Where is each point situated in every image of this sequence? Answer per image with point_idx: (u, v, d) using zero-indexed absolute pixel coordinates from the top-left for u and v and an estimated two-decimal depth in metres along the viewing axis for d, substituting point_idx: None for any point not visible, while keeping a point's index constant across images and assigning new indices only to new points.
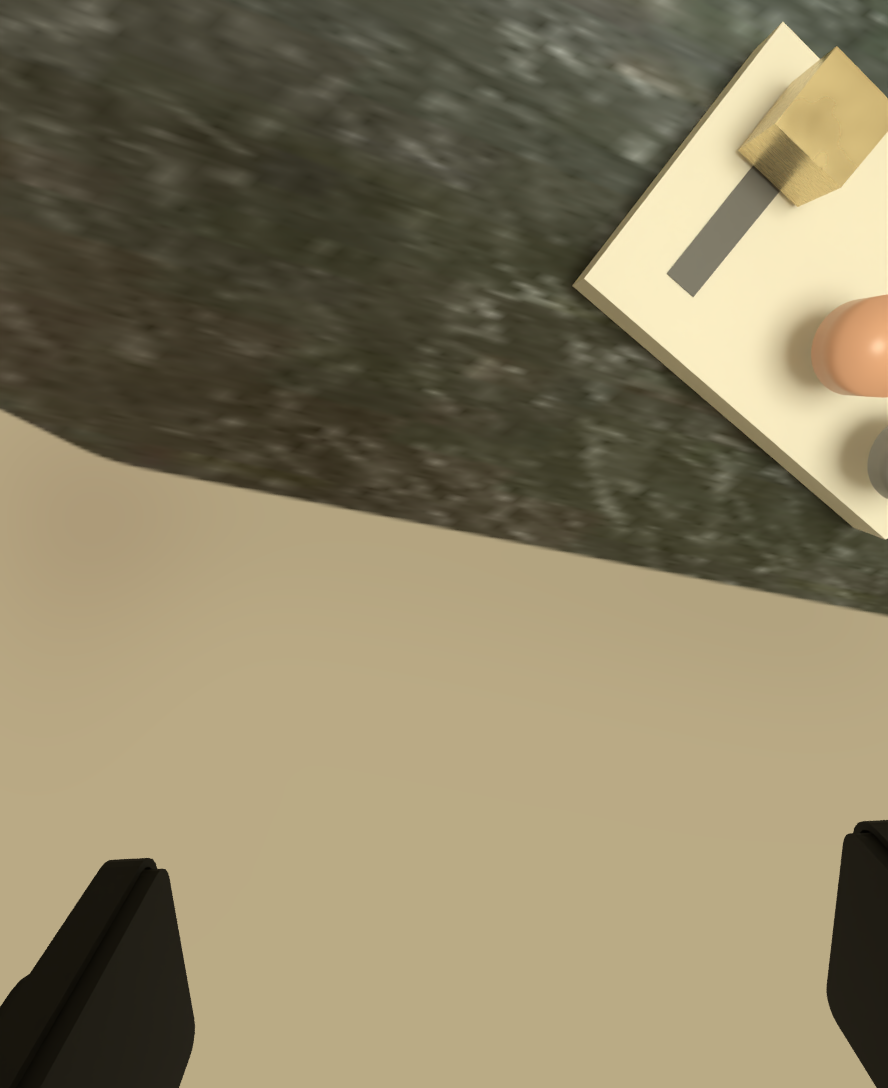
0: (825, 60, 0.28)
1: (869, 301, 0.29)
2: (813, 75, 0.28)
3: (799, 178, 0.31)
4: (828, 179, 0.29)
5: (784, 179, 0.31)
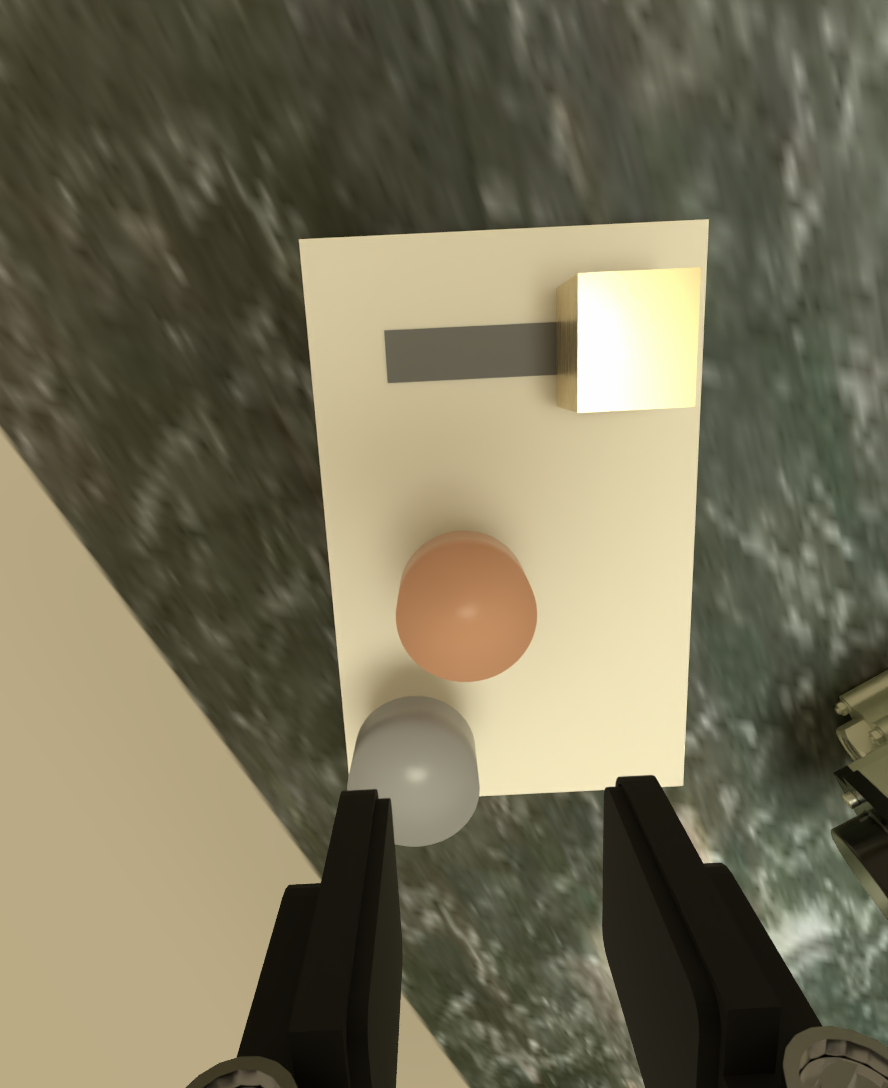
0: (679, 269, 0.20)
1: (489, 550, 0.21)
2: (655, 270, 0.20)
3: (566, 369, 0.22)
4: (576, 392, 0.21)
5: (561, 360, 0.23)
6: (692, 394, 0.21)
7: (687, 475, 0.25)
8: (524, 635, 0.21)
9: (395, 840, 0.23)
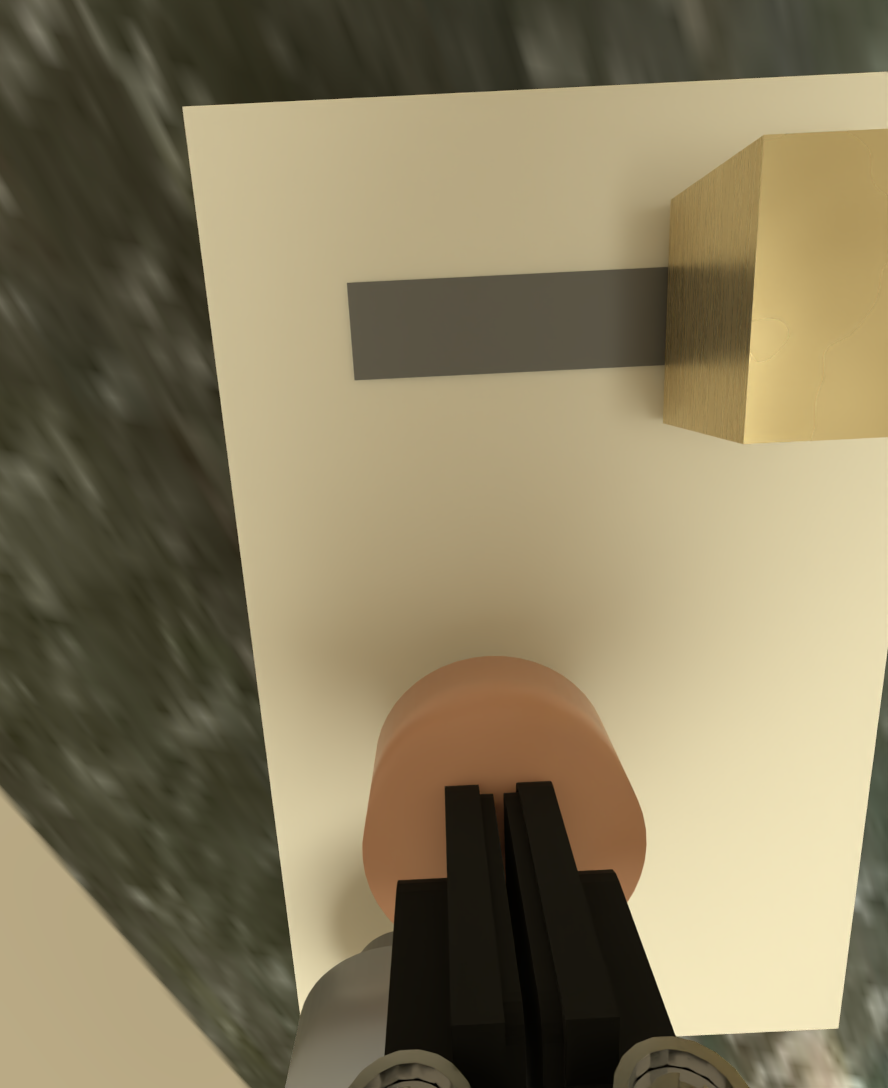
0: None
1: (552, 725, 0.10)
2: None
3: (703, 354, 0.11)
4: (741, 400, 0.10)
5: (683, 337, 0.12)
6: None
7: (884, 542, 0.14)
8: None
9: None
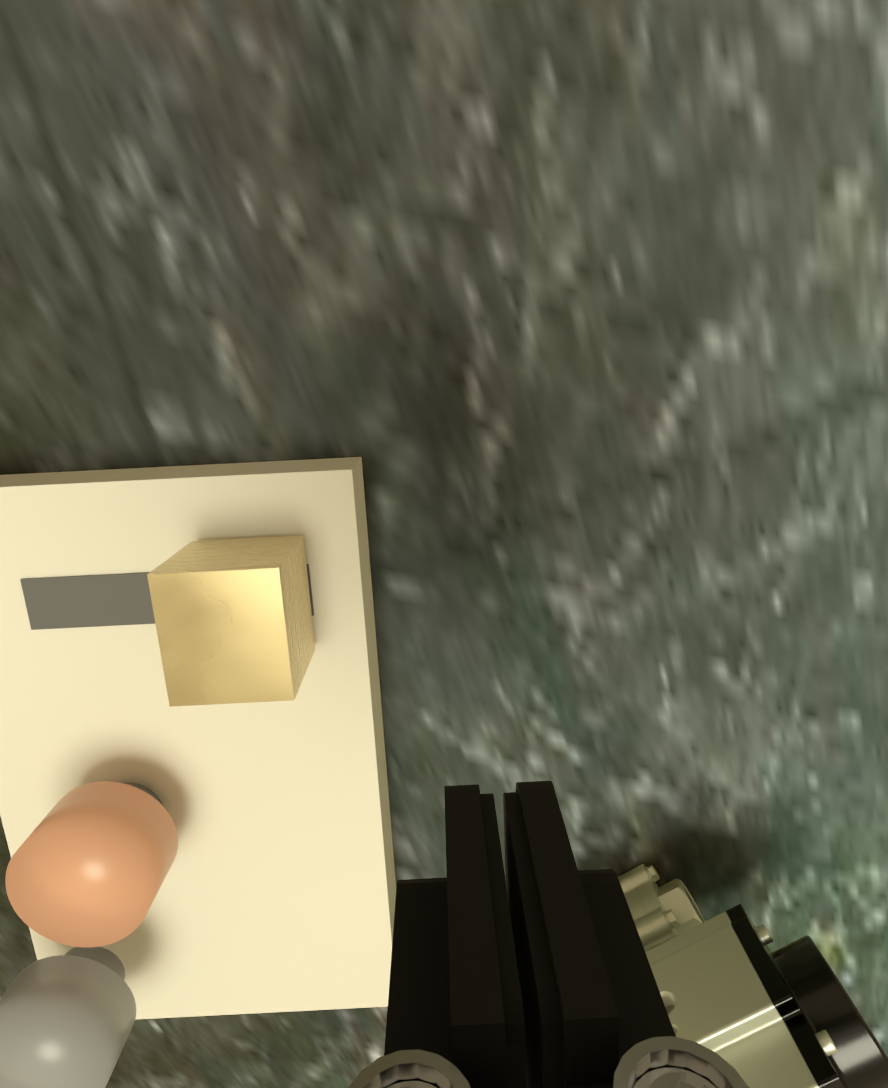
0: (257, 569, 0.19)
1: (94, 828, 0.21)
2: (231, 570, 0.19)
3: None
4: (168, 684, 0.20)
5: None
6: (288, 689, 0.19)
7: (362, 714, 0.24)
8: (139, 905, 0.21)
9: None
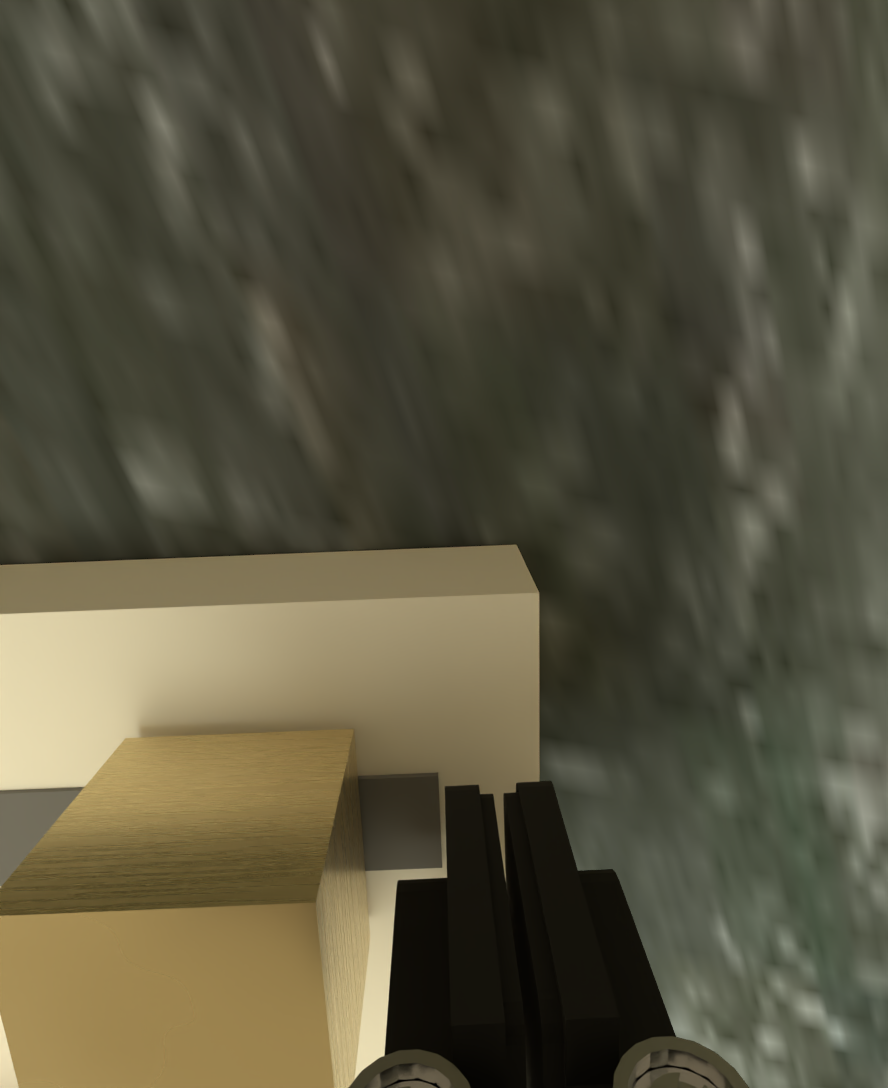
0: (259, 902, 0.07)
1: None
2: (193, 905, 0.07)
3: None
4: None
5: None
6: None
7: None
8: None
9: None
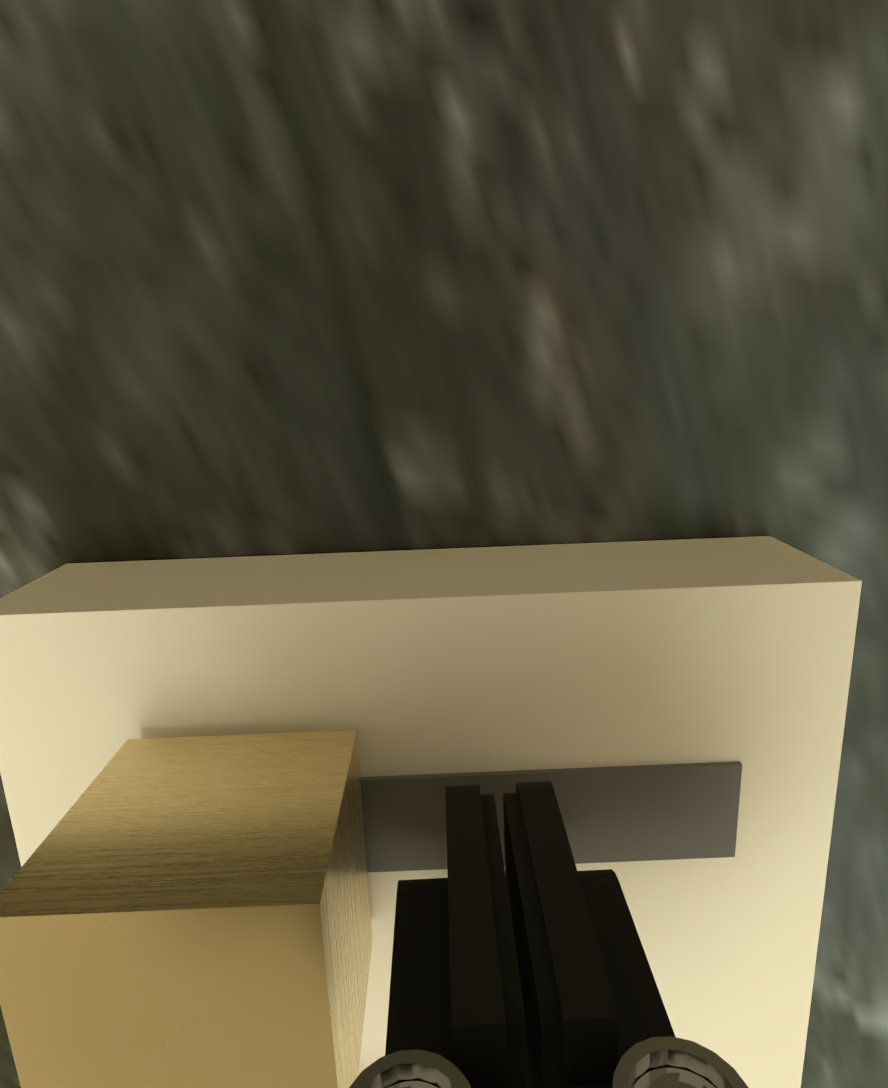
0: (263, 903, 0.07)
1: None
2: (197, 907, 0.07)
3: None
4: None
5: None
6: None
7: (788, 1025, 0.13)
8: None
9: None
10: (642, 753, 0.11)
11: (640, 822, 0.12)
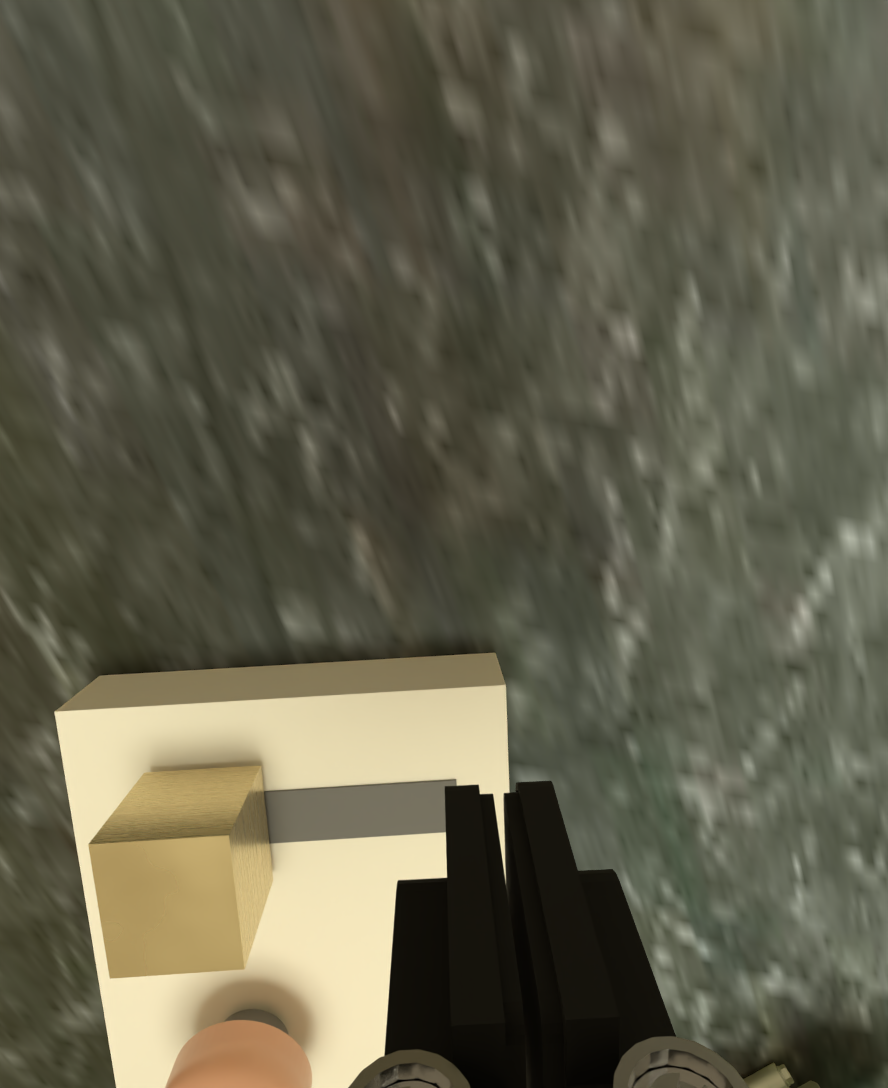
0: (206, 836, 0.18)
1: None
2: (178, 838, 0.18)
3: None
4: (109, 953, 0.18)
5: None
6: (239, 957, 0.18)
7: None
8: None
9: None
10: (405, 775, 0.22)
11: (407, 813, 0.22)
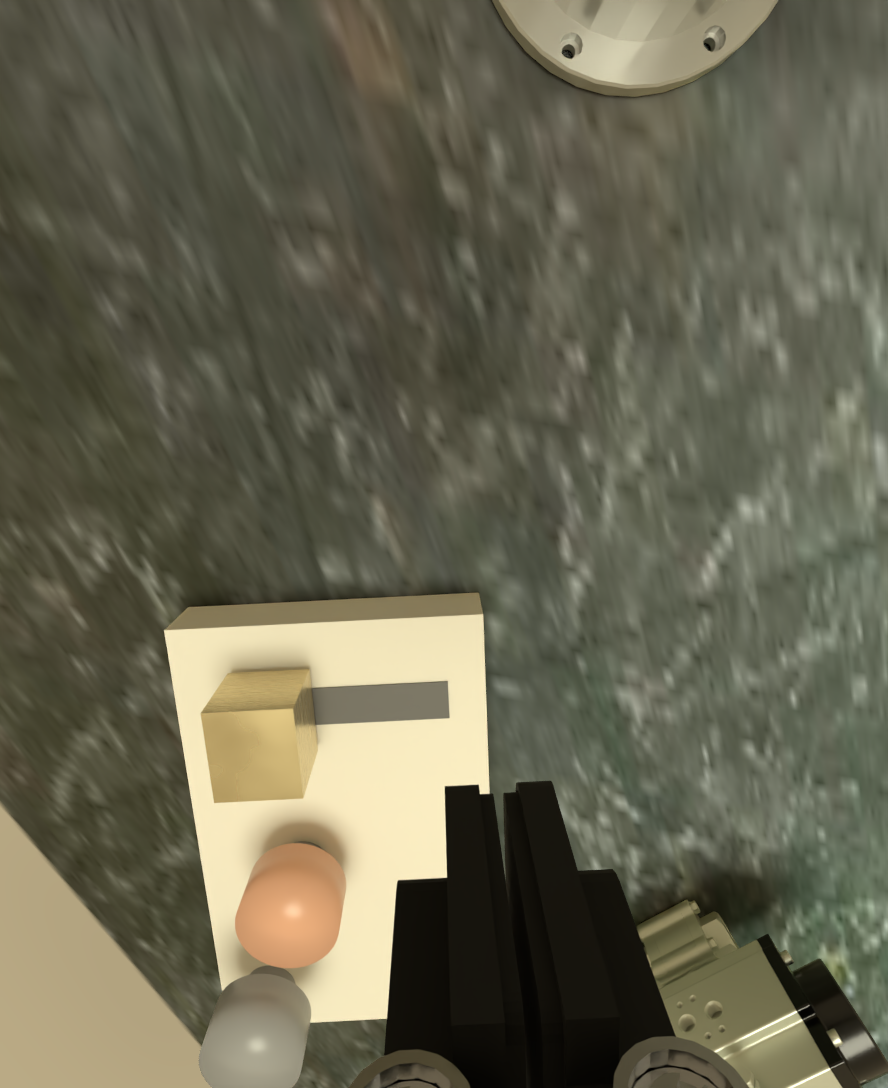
0: (277, 709, 0.26)
1: (301, 881, 0.28)
2: (259, 710, 0.26)
3: None
4: (213, 787, 0.27)
5: None
6: (299, 790, 0.27)
7: (481, 790, 0.32)
8: (331, 937, 0.29)
9: None
10: (411, 678, 0.30)
11: (412, 704, 0.31)
